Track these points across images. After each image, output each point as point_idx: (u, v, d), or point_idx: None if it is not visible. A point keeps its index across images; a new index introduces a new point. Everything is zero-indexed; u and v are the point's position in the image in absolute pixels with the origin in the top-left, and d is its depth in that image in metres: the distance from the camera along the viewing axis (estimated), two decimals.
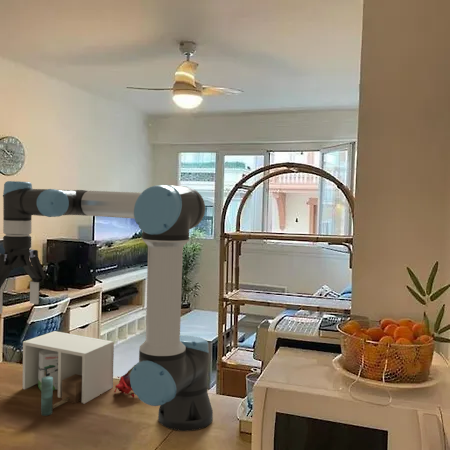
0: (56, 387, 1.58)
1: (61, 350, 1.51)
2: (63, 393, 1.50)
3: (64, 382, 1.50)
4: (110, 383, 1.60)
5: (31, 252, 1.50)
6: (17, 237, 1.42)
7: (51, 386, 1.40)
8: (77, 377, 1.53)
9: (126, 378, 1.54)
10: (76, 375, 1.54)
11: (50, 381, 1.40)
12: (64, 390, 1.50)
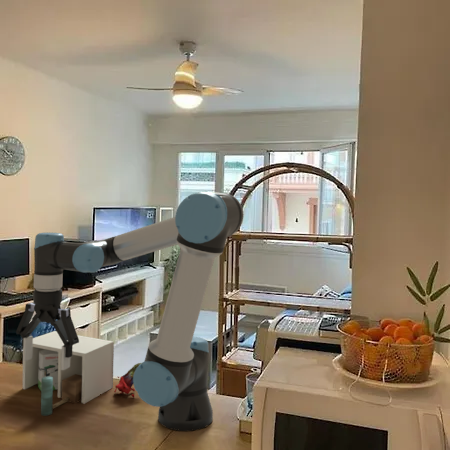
0: (56, 387, 1.58)
1: (61, 350, 1.51)
2: (63, 393, 1.50)
3: (64, 382, 1.50)
4: (110, 383, 1.60)
5: (60, 311, 1.37)
6: (34, 290, 1.38)
7: (51, 386, 1.40)
8: (77, 377, 1.53)
9: (126, 378, 1.54)
10: (76, 375, 1.54)
11: (50, 381, 1.40)
12: (64, 390, 1.50)
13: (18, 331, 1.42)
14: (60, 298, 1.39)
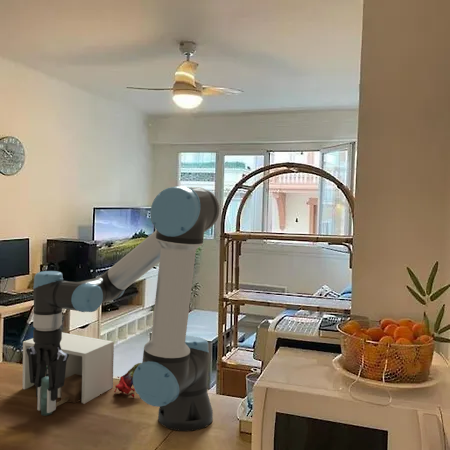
0: None
1: (61, 350, 1.51)
2: (62, 393, 1.50)
3: None
4: (110, 383, 1.60)
5: (60, 353, 1.38)
6: (34, 329, 1.38)
7: None
8: (76, 376, 1.53)
9: (126, 378, 1.54)
10: (75, 375, 1.55)
11: None
12: (63, 390, 1.50)
13: (32, 380, 1.41)
14: (60, 337, 1.39)
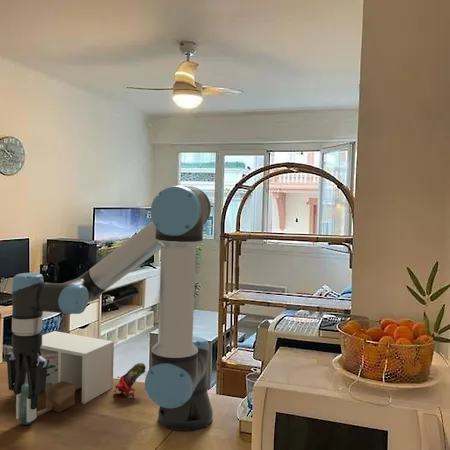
0: None
1: (61, 350, 1.51)
2: (47, 401, 1.43)
3: (48, 389, 1.43)
4: (110, 383, 1.60)
5: (39, 360, 1.31)
6: (12, 334, 1.32)
7: None
8: (62, 384, 1.46)
9: (126, 378, 1.54)
10: (62, 382, 1.48)
11: None
12: (48, 398, 1.43)
13: (10, 387, 1.35)
14: (40, 342, 1.32)
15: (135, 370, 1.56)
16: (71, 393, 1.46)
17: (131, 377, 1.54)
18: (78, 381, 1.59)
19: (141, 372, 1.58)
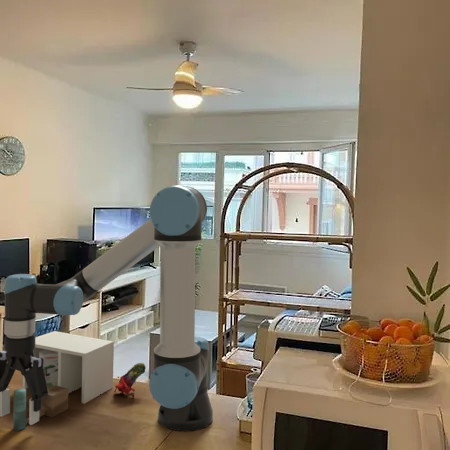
0: None
1: (61, 350, 1.51)
2: None
3: None
4: (110, 383, 1.60)
5: (33, 360, 1.29)
6: (5, 336, 1.29)
7: (24, 399, 1.31)
8: (56, 388, 1.44)
9: (126, 378, 1.54)
10: (55, 386, 1.45)
11: (23, 394, 1.31)
12: (41, 402, 1.41)
13: None
14: (33, 344, 1.30)
15: (135, 370, 1.56)
16: (65, 398, 1.43)
17: (131, 377, 1.54)
18: (78, 381, 1.59)
19: (141, 372, 1.58)
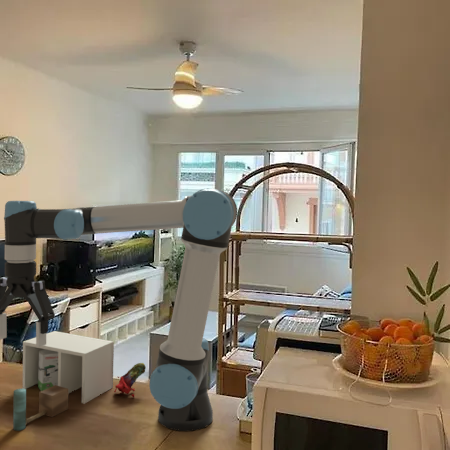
0: None
1: (61, 350, 1.51)
2: (40, 406, 1.41)
3: (41, 394, 1.41)
4: (110, 383, 1.60)
5: None
6: None
7: (24, 399, 1.31)
8: (56, 388, 1.44)
9: (126, 378, 1.54)
10: (55, 386, 1.45)
11: (22, 394, 1.31)
12: (41, 402, 1.41)
13: None
14: (34, 270, 1.29)
15: (135, 370, 1.56)
16: (65, 398, 1.43)
17: (131, 377, 1.54)
18: (78, 381, 1.59)
19: (141, 372, 1.58)
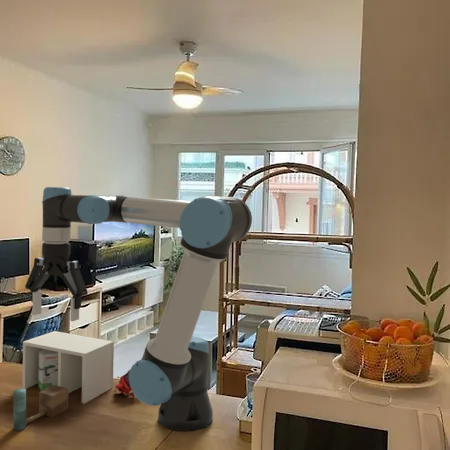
0: None
1: (61, 350, 1.51)
2: (40, 406, 1.41)
3: (41, 394, 1.41)
4: (110, 383, 1.60)
5: None
6: (43, 243, 1.40)
7: (24, 399, 1.31)
8: (56, 388, 1.44)
9: (126, 378, 1.54)
10: (55, 386, 1.45)
11: (22, 394, 1.31)
12: (41, 402, 1.41)
13: (27, 286, 1.44)
14: (68, 251, 1.41)
15: None
16: (65, 398, 1.43)
17: None
18: (78, 381, 1.59)
19: None
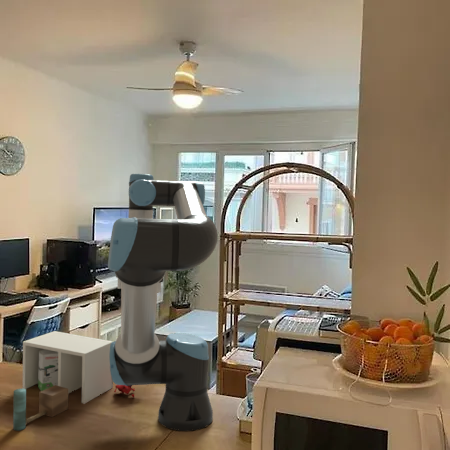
0: None
1: (61, 350, 1.51)
2: (40, 406, 1.41)
3: (41, 394, 1.41)
4: (110, 383, 1.60)
5: None
6: None
7: (24, 399, 1.31)
8: (56, 388, 1.44)
9: None
10: (55, 386, 1.45)
11: (22, 394, 1.31)
12: (41, 402, 1.41)
13: None
14: None
15: None
16: (65, 398, 1.43)
17: None
18: (78, 381, 1.59)
19: None
